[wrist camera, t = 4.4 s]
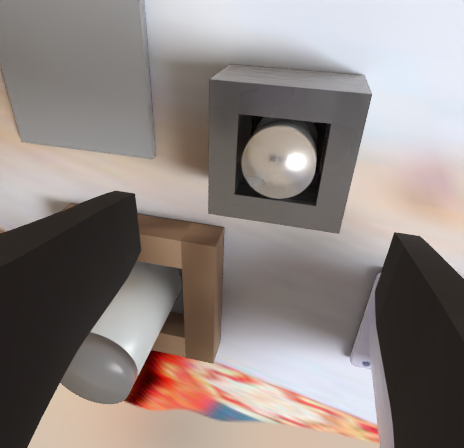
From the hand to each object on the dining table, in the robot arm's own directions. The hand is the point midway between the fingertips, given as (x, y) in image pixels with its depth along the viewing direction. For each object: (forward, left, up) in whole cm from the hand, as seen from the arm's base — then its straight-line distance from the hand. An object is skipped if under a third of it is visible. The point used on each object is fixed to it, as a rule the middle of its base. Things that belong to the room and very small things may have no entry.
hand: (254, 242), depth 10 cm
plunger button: (0, 0, -9) cm, 9 cm away
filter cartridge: (+8, +11, -9) cm, 17 cm away
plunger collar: (0, 0, -9) cm, 9 cm away
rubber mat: (+11, -2, -9) cm, 15 cm away
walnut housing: (+8, +11, -9) cm, 17 cm away
